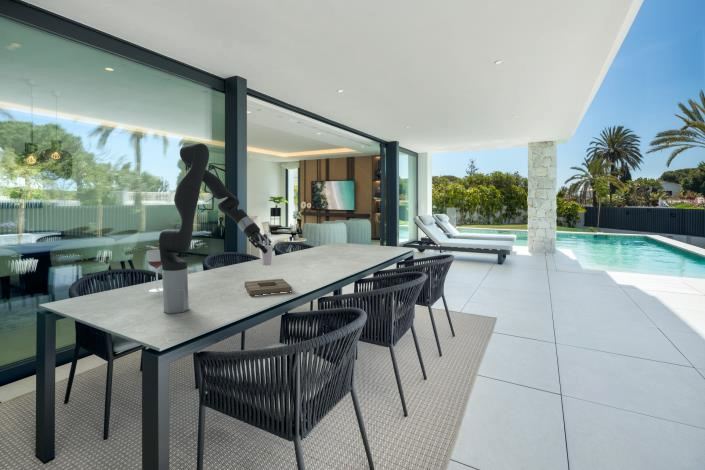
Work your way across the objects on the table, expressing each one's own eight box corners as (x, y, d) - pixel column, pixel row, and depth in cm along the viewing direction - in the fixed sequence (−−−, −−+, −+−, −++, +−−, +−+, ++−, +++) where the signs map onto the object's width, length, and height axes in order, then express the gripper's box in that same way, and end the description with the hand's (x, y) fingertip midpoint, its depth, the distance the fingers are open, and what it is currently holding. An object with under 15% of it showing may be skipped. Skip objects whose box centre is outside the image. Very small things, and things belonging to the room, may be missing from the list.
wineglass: (170, 288, 183) (168, 249, 181) (159, 292, 174) (157, 252, 172) (155, 287, 184) (154, 249, 182) (144, 291, 175) (142, 251, 173)
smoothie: (270, 266, 177) (269, 238, 175) (258, 265, 178) (257, 237, 177) (275, 264, 183) (275, 236, 182) (263, 263, 184) (263, 236, 183)
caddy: (291, 292, 177) (291, 286, 176) (250, 296, 168) (250, 290, 168) (282, 284, 195) (282, 278, 195) (244, 287, 187) (244, 281, 186)
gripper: (245, 223, 174) (267, 248, 171) (260, 221, 187) (281, 245, 185) (236, 233, 176) (257, 258, 173) (252, 231, 189) (272, 254, 187)
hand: (269, 251), depth 179 cm, fingers closed on smoothie, 6 cm apart
